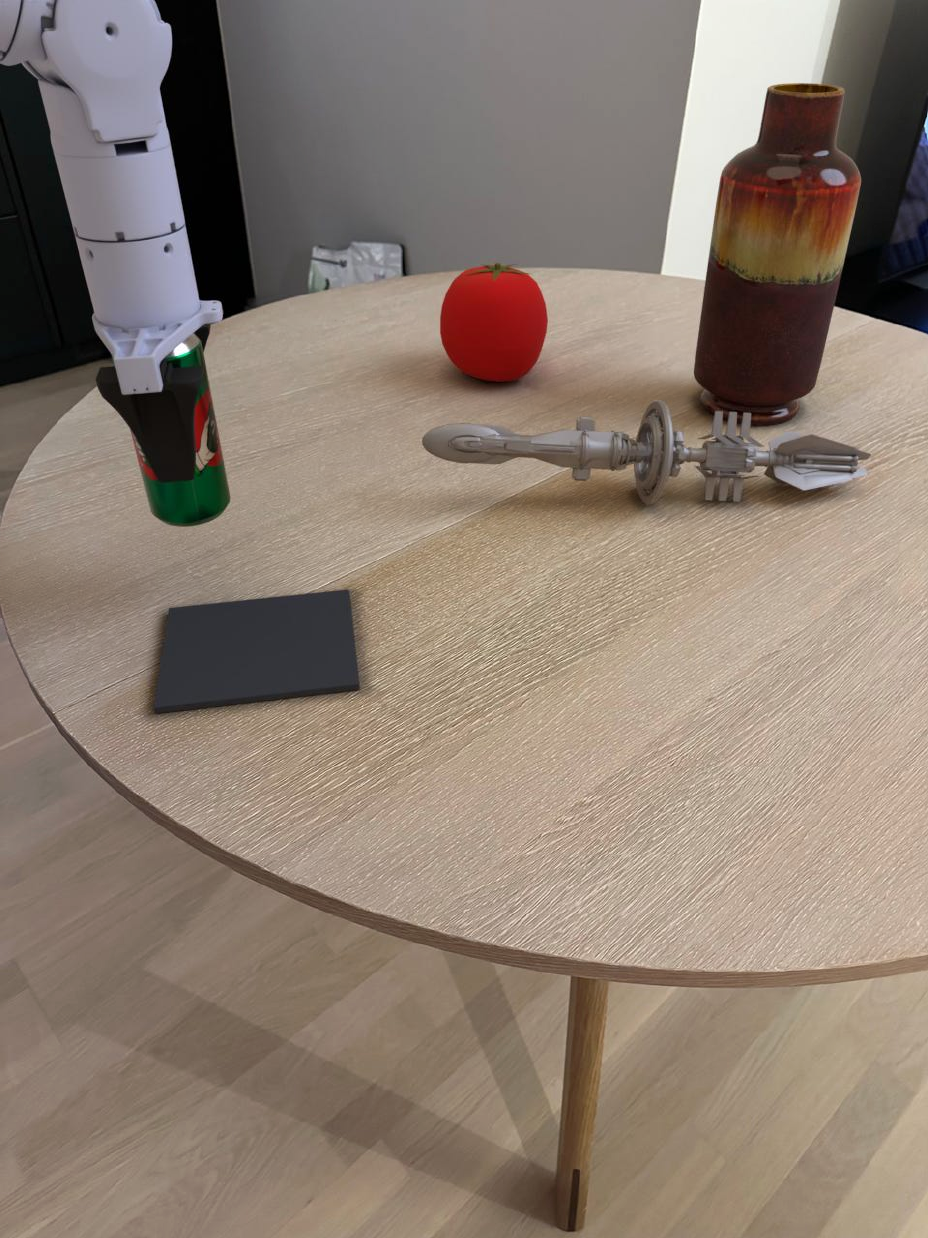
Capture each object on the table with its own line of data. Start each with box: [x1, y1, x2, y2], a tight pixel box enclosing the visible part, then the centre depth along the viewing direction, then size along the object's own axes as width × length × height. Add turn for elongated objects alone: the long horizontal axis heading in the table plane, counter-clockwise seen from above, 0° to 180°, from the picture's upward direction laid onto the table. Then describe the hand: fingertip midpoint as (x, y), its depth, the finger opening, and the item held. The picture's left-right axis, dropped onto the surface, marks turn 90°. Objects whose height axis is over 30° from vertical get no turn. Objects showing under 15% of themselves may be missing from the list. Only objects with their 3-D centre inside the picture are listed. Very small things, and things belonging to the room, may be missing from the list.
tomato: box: [439, 262, 549, 383], centre depth 91 cm, size 10×11×11 cm
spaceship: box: [421, 399, 872, 506], centre depth 71 cm, size 8×35×8 cm
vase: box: [693, 82, 862, 426], centre depth 79 cm, size 11×11×26 cm
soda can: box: [110, 333, 231, 528], centre depth 56 cm, size 5×5×12 cm
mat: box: [153, 588, 361, 714], centre depth 59 cm, size 12×10×1 cm
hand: (180, 458), depth 58 cm, fingers closed on soda can, 5 cm apart
